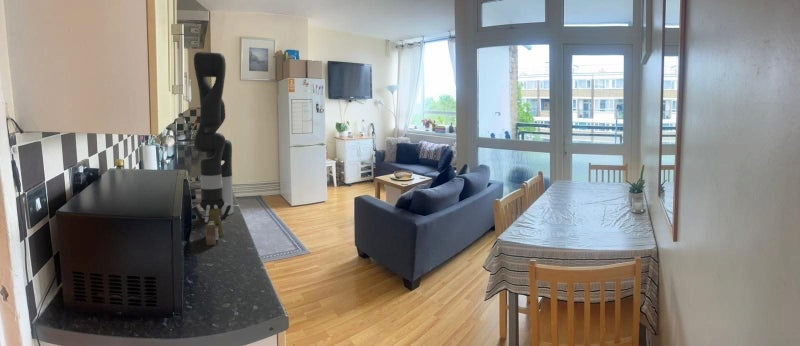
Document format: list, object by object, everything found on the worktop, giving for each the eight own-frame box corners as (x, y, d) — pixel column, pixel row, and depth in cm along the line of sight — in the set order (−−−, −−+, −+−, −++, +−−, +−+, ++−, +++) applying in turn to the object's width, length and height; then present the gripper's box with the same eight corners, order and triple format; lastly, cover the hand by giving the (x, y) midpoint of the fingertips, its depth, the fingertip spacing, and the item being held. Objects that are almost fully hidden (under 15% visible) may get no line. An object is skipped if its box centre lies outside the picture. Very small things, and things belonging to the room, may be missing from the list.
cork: (227, 233, 177) (226, 205, 175) (218, 238, 171) (217, 209, 169) (212, 232, 178) (211, 204, 176) (203, 236, 172) (202, 208, 170)
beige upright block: (207, 240, 168) (207, 221, 167) (216, 240, 169) (215, 220, 168) (206, 245, 163) (205, 225, 162) (215, 244, 164) (214, 224, 163)
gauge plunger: (206, 237, 171) (206, 220, 170) (219, 236, 172) (218, 219, 171) (205, 240, 167) (204, 223, 166) (218, 240, 168) (217, 223, 167)
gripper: (232, 183, 177) (233, 227, 180) (192, 185, 173) (194, 229, 176) (231, 187, 170) (232, 232, 173) (190, 188, 166) (192, 235, 168)
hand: (213, 230), depth 174 cm, fingers closed on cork, 3 cm apart
